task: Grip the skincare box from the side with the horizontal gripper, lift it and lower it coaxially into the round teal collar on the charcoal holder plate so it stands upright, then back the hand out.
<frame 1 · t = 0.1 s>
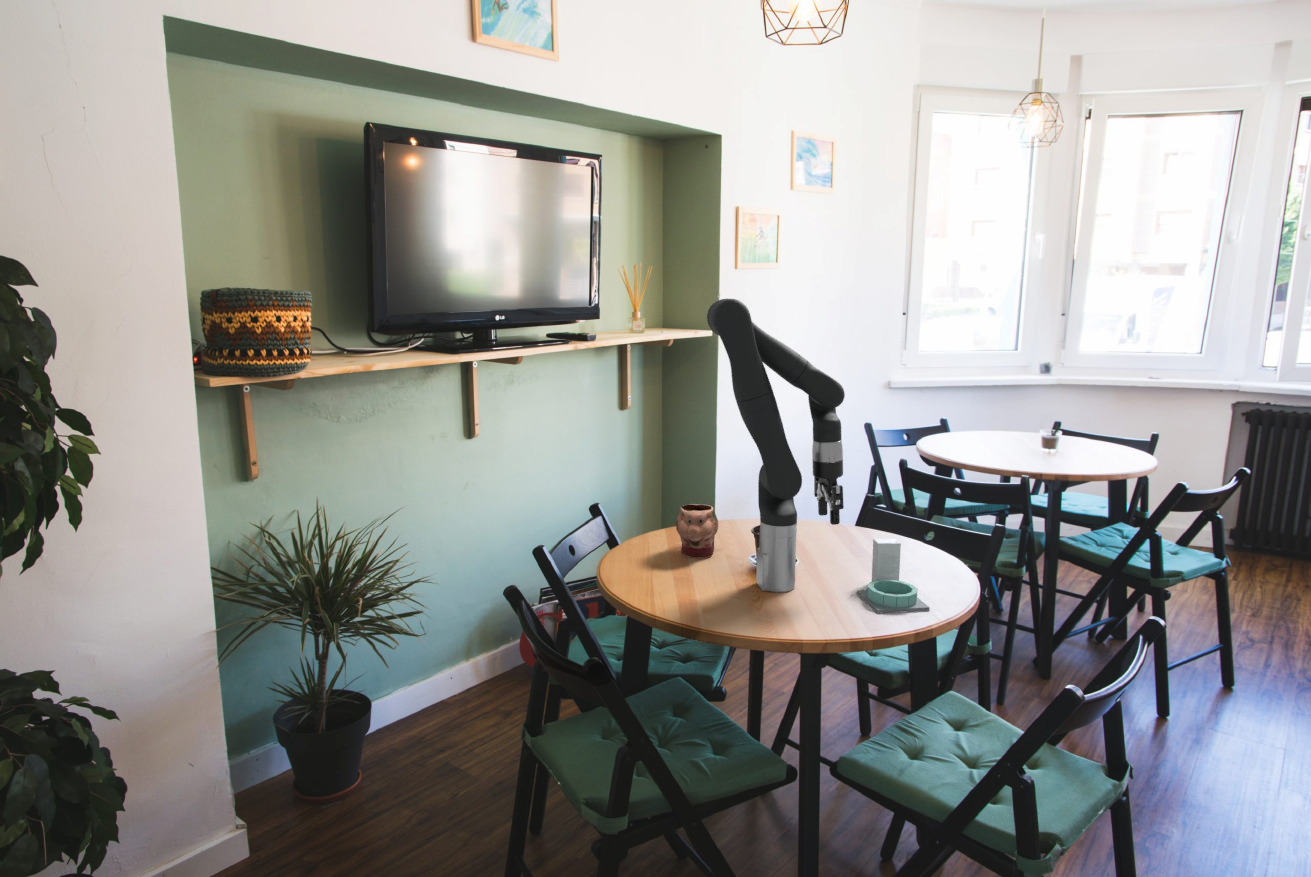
hand: (828, 519, 205), 17 cm above the table, tool pointing down, fingers open, 8 cm apart
skincare box: (884, 586, 207), on the table
decorative planter: (696, 553, 233), on the table
collar holder: (891, 601, 196), on the table
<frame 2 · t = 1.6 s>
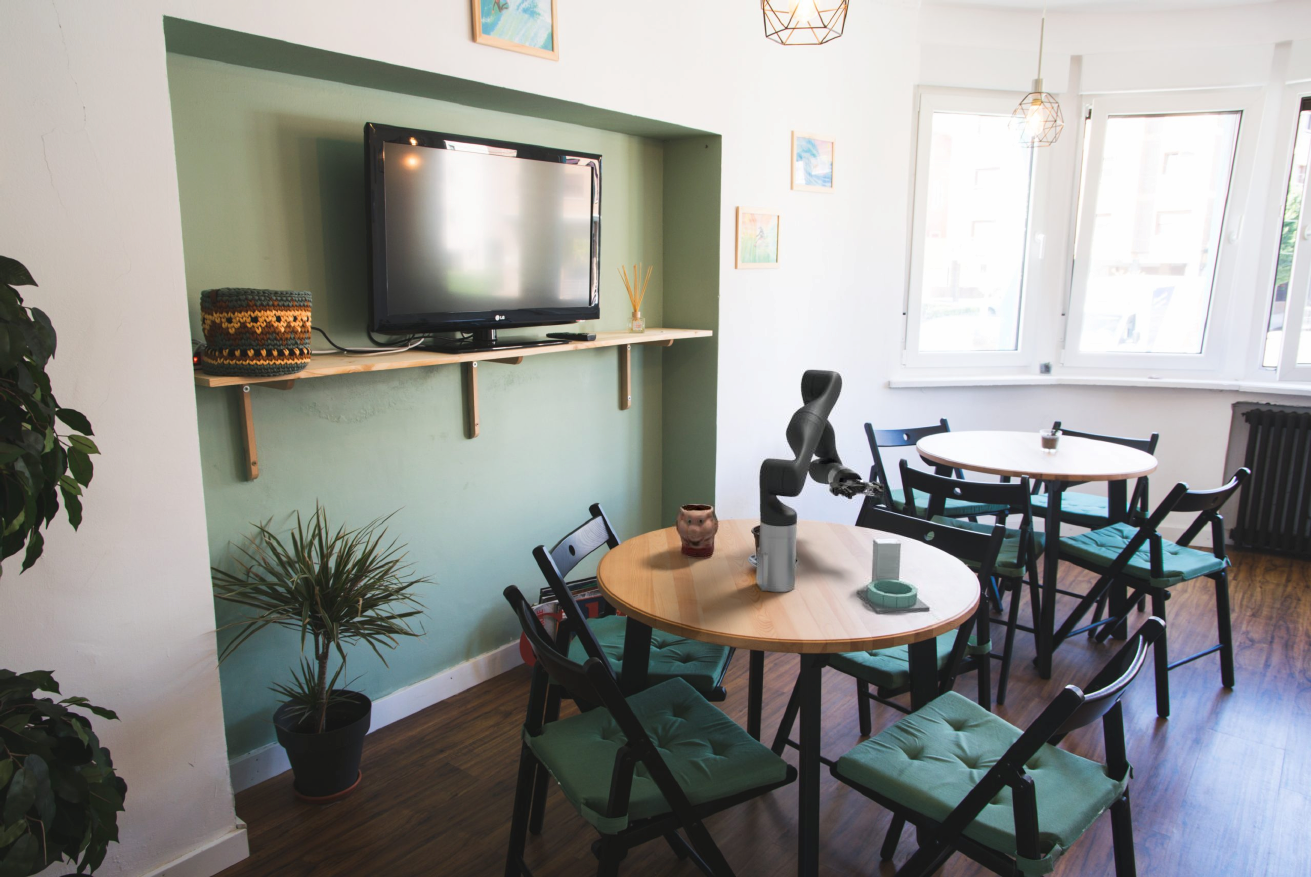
hand: (866, 495, 218), 20 cm above the table, tool horizontal, fingers open, 8 cm apart
nothing on the table moved.
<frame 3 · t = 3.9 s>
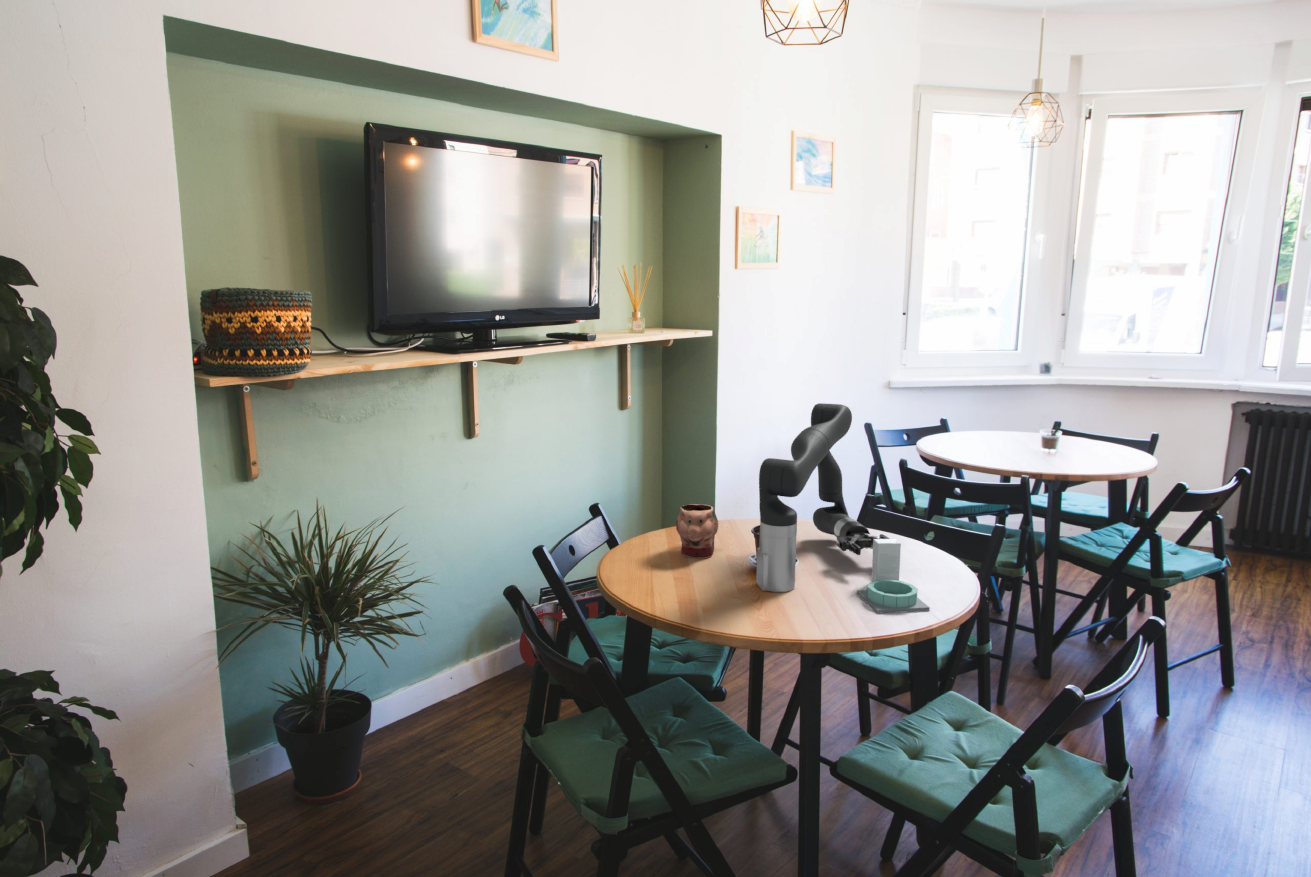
hand: (874, 550, 213), 7 cm above the table, tool horizontal, fingers open, 8 cm apart
nothing on the table moved.
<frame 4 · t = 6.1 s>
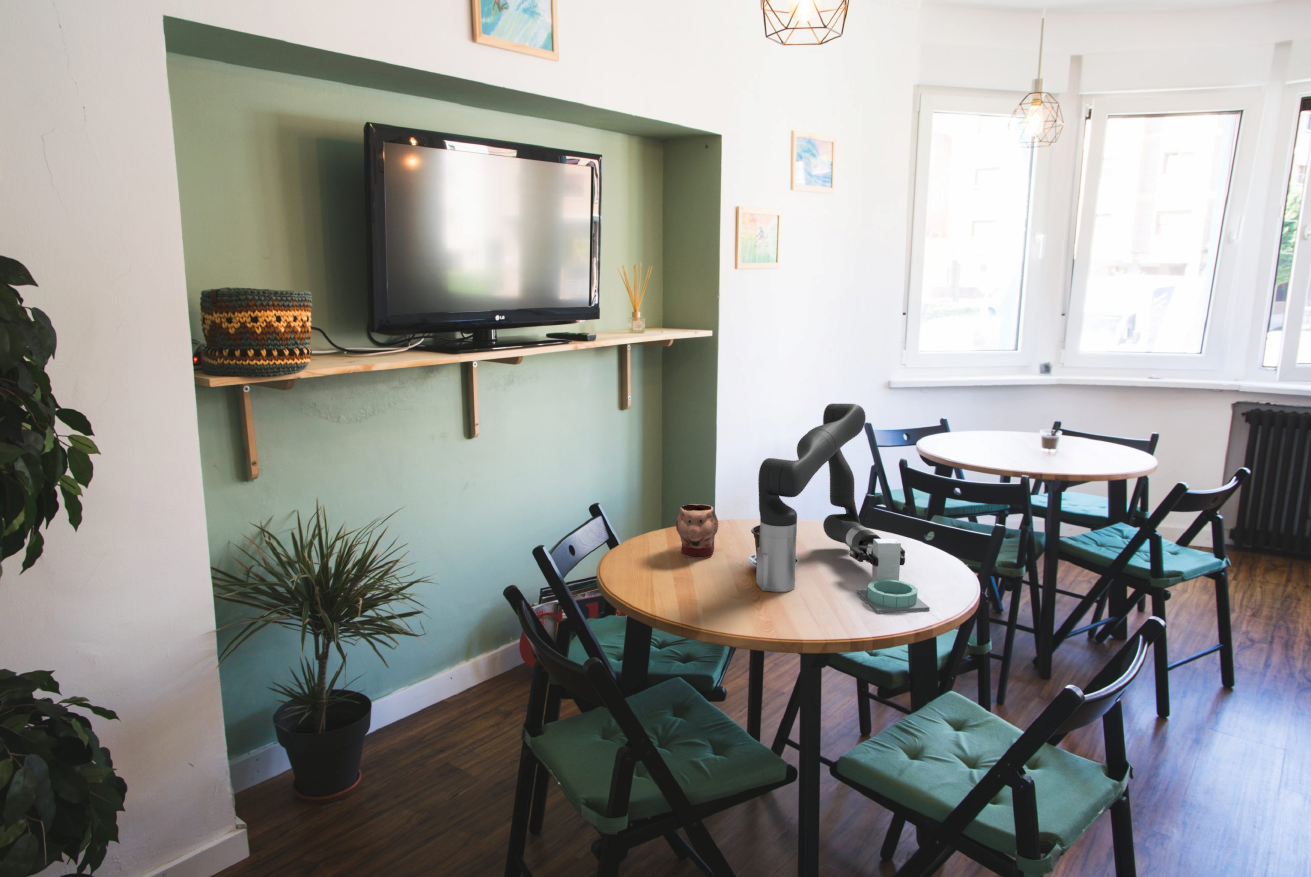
hand: (890, 562, 204), 7 cm above the table, tool horizontal, fingers closed on skincare box, 6 cm apart
skincare box: (884, 586, 207), on the table, touching gripper
everything else where it was.
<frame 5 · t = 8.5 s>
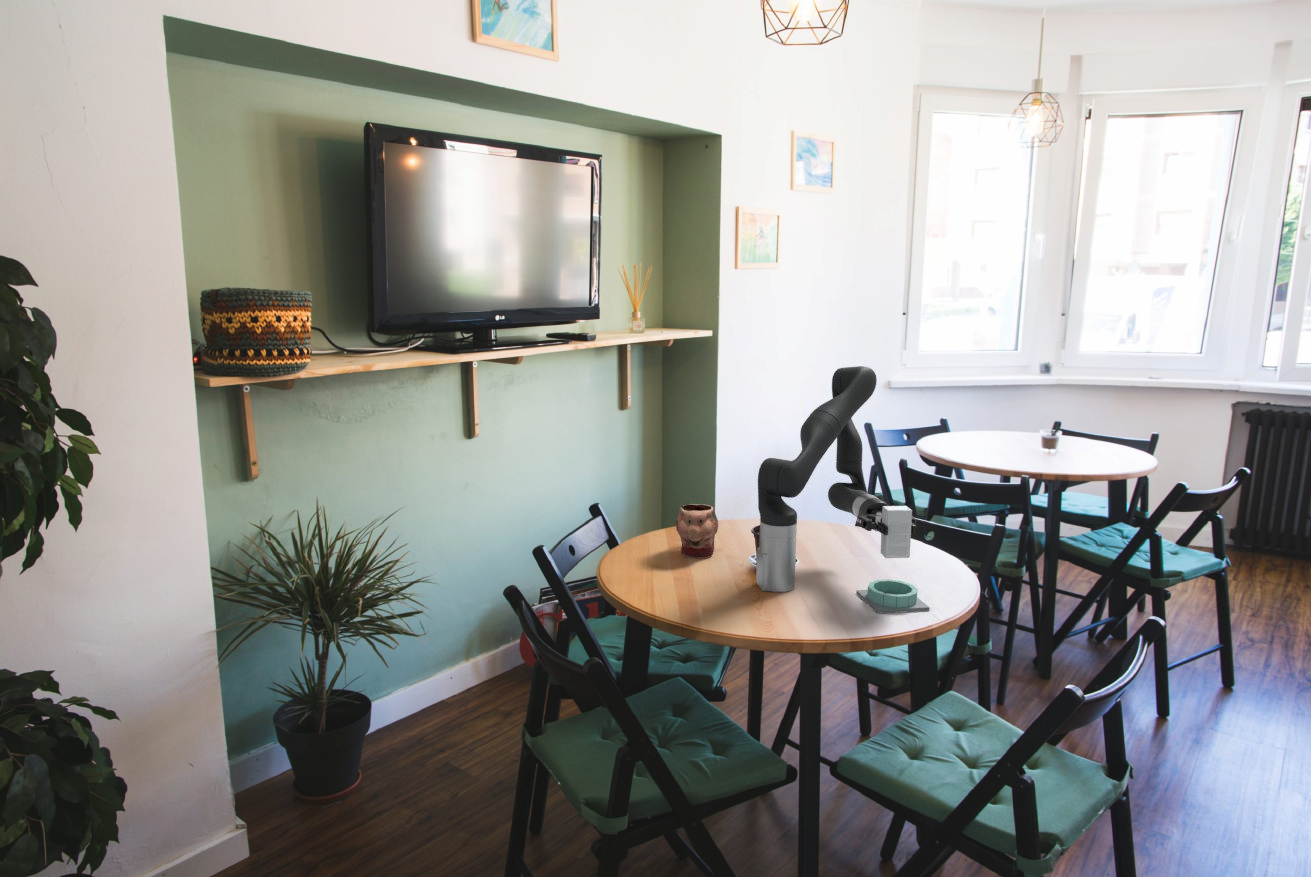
hand: (900, 530, 191), 19 cm above the table, tool horizontal, fingers closed on skincare box, 6 cm apart
skincare box: (894, 556, 194), point 11 cm above the table, touching gripper
everything else where it was.
when the fingers open (9 cm above the table, at t = 11.2 s): skincare box drops 2 cm, resting on collar holder.
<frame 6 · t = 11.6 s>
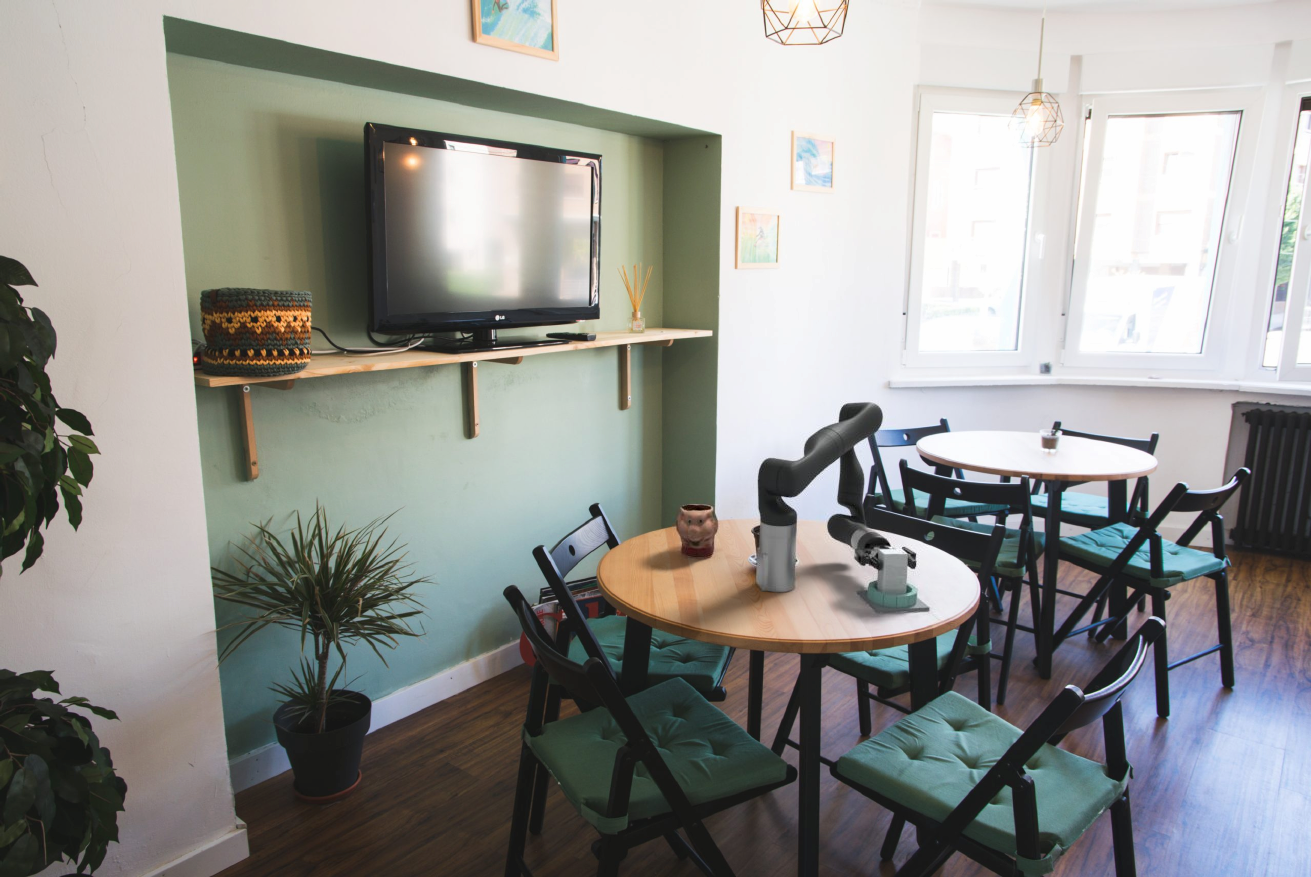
hand: (897, 565, 193), 10 cm above the table, tool horizontal, fingers open, 8 cm apart
skincare box: (890, 599, 196), point 1 cm above the table, touching collar holder
everything else where it was.
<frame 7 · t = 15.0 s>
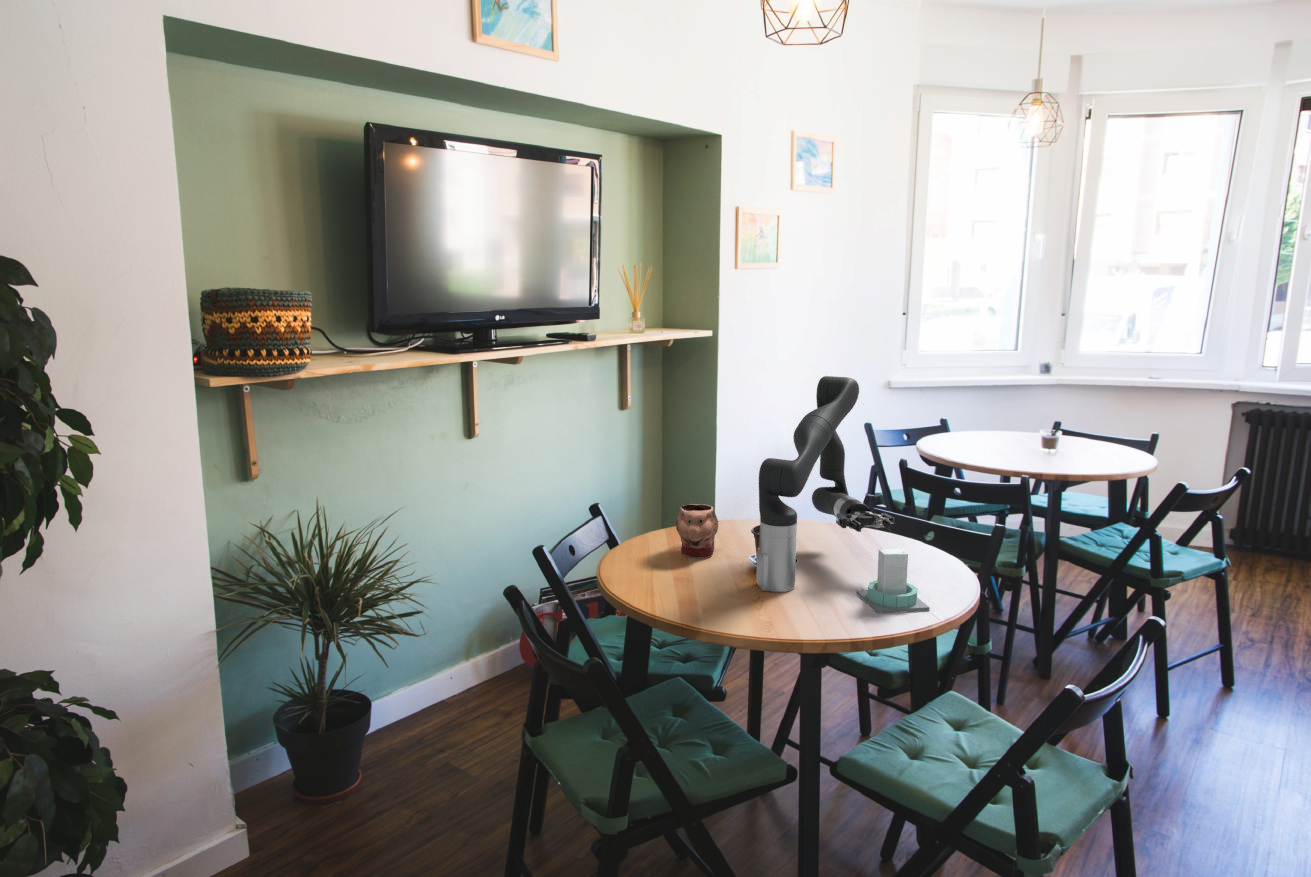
hand: (876, 527, 204), 16 cm above the table, tool horizontal, fingers open, 8 cm apart
nothing on the table moved.
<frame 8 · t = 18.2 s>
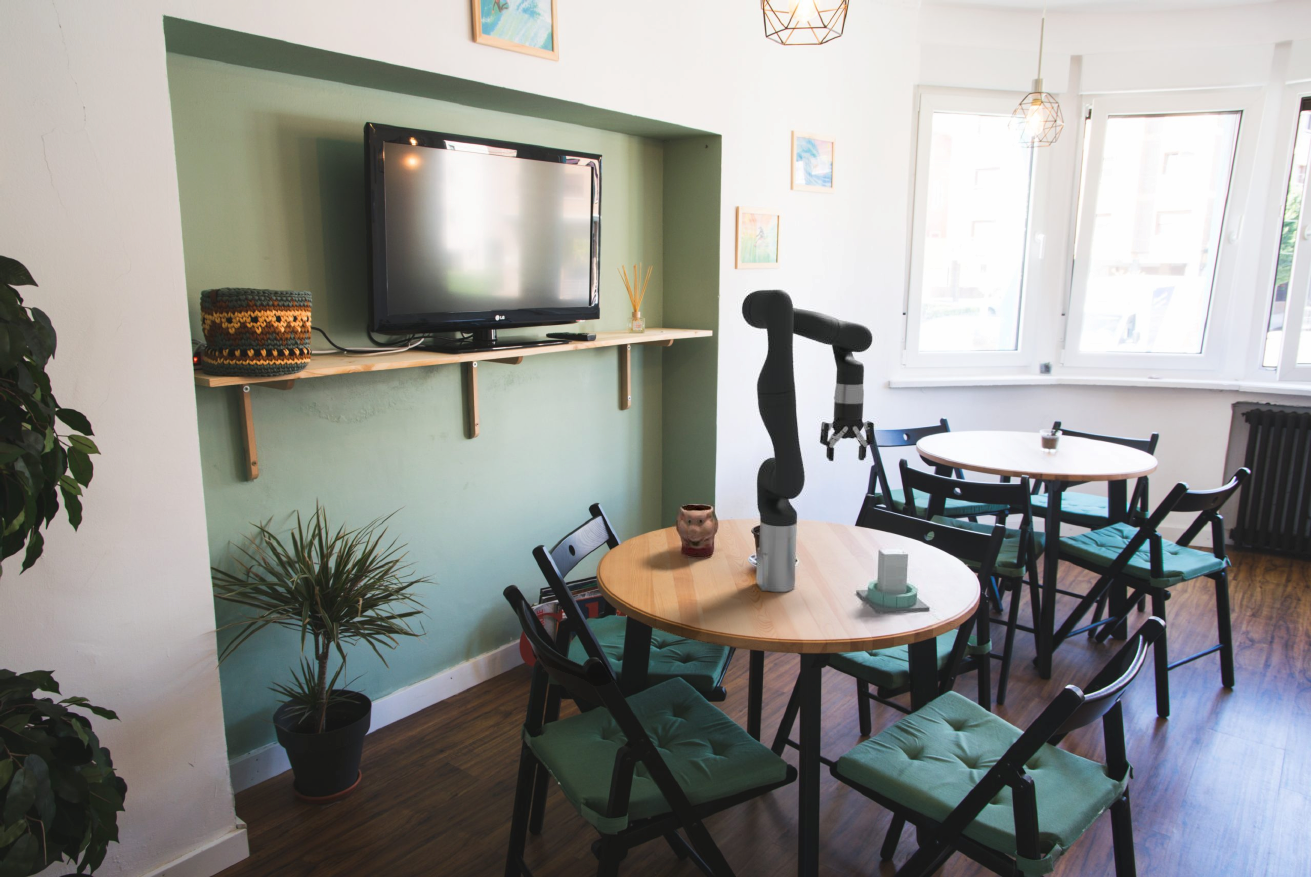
hand: (846, 460, 216), 30 cm above the table, tool pointing down, fingers open, 8 cm apart
nothing on the table moved.
at the end: skincare box 0.4 cm off-centre on the collar holder, point 0.6 cm above the collar holder's base; skincare box tilted 0°; the gripper is holding nothing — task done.
